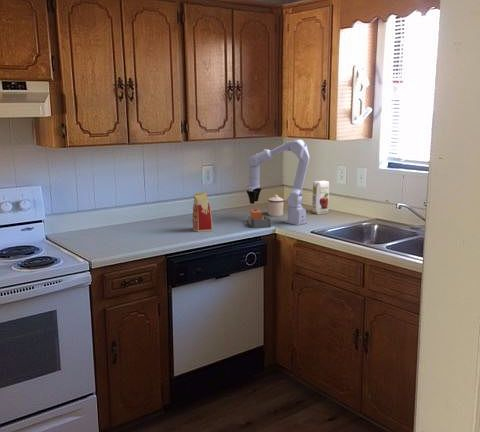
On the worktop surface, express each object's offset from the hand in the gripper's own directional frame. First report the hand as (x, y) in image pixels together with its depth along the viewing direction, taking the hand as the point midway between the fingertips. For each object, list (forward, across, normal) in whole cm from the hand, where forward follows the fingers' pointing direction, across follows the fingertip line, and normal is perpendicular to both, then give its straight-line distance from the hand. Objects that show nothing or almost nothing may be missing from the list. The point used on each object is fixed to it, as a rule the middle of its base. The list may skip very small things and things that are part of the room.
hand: (254, 202), depth 291 cm
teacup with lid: (+10, -18, +8) cm, 21 cm away
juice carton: (+10, -29, +32) cm, 44 cm away
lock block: (+10, +5, +3) cm, 11 cm away
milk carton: (+10, +32, -18) cm, 38 cm away
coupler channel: (+9, +14, +7) cm, 18 cm away
